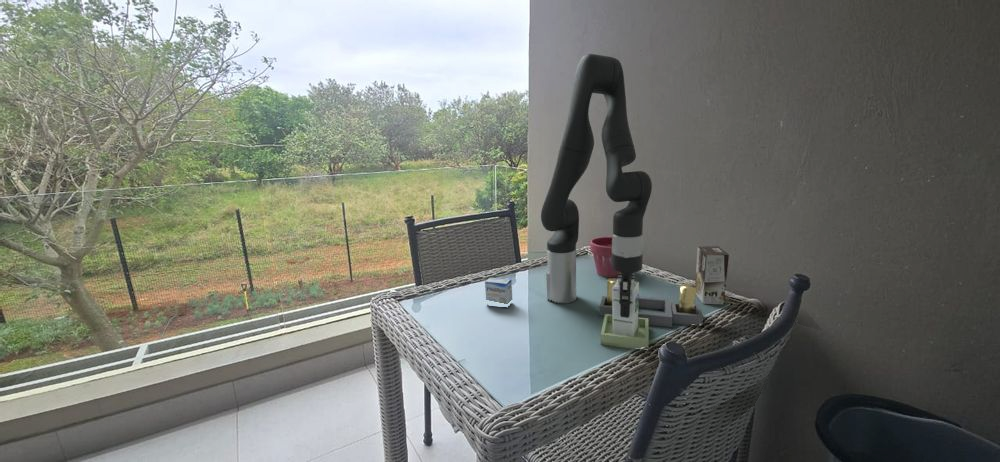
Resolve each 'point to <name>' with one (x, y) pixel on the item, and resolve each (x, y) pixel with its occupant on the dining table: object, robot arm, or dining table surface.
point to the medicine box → (498, 290)
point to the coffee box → (711, 274)
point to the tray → (622, 340)
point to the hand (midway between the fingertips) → (625, 309)
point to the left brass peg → (610, 290)
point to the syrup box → (631, 323)
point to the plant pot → (603, 256)
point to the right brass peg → (687, 298)
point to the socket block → (660, 319)
